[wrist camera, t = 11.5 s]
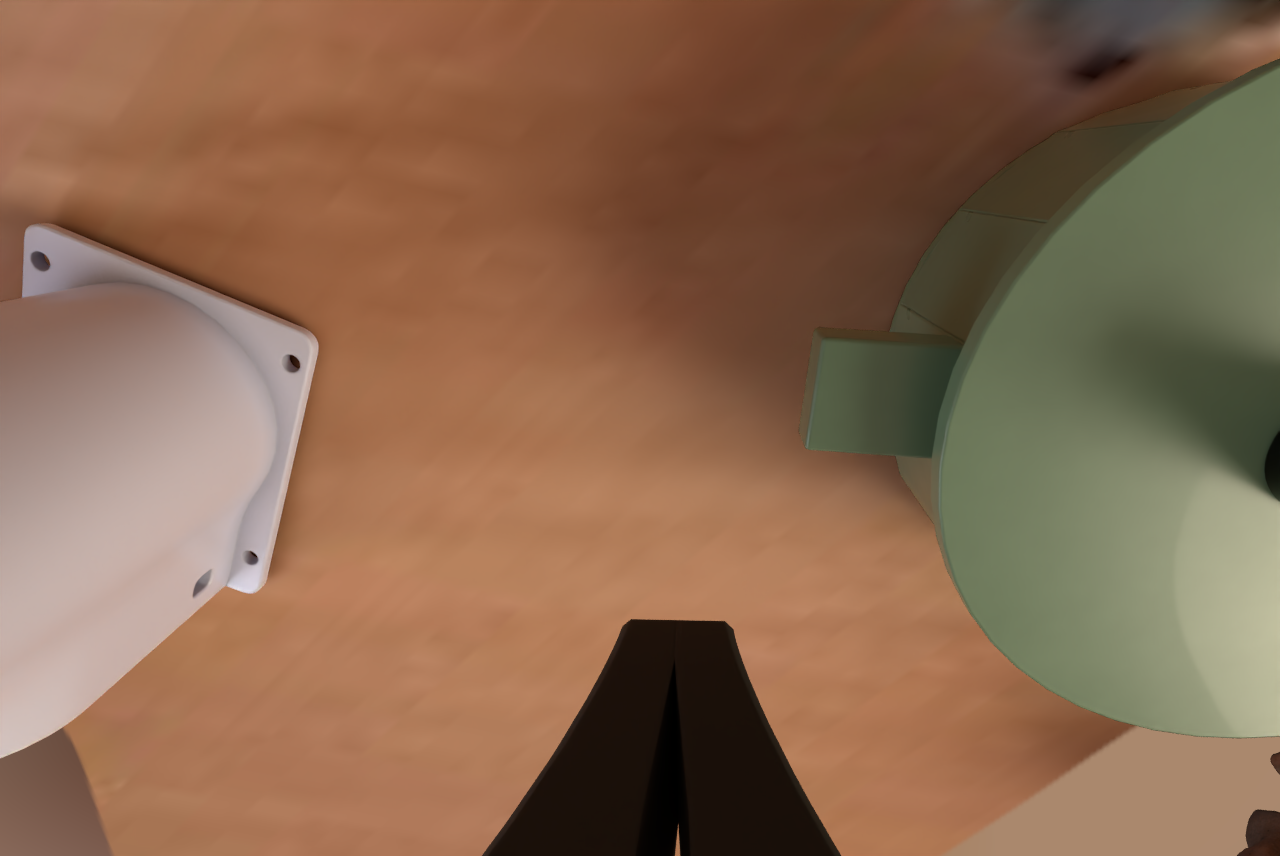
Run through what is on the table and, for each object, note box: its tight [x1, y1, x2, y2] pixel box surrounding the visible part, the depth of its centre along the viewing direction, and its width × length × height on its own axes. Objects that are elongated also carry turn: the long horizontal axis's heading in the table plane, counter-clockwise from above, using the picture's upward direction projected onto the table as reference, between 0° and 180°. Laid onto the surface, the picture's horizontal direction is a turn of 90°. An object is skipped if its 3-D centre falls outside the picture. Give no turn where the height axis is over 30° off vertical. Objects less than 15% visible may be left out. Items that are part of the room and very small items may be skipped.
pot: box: [799, 81, 1231, 525], centre depth 14 cm, size 12×18×5 cm
